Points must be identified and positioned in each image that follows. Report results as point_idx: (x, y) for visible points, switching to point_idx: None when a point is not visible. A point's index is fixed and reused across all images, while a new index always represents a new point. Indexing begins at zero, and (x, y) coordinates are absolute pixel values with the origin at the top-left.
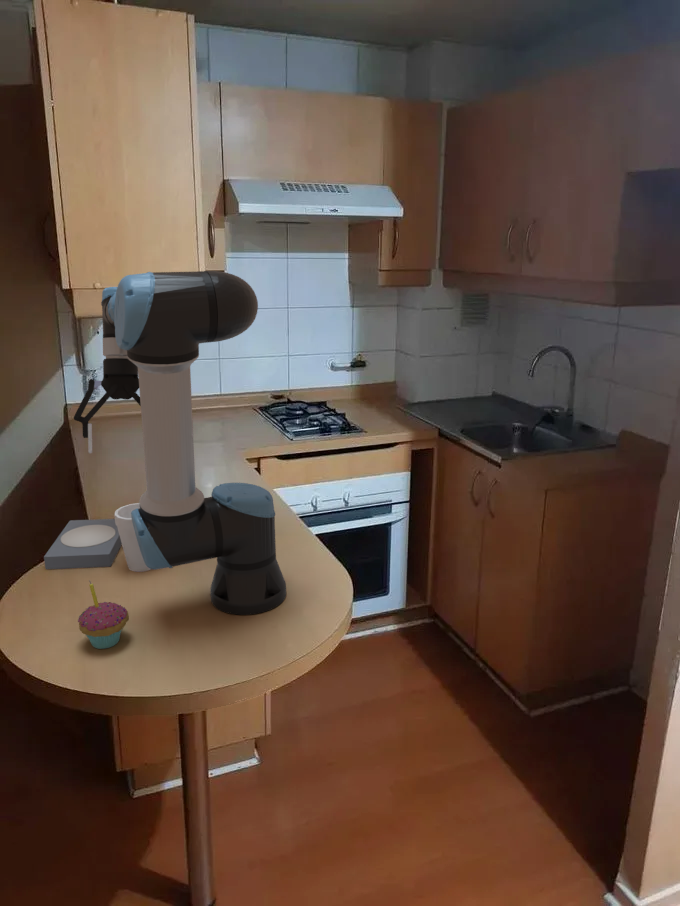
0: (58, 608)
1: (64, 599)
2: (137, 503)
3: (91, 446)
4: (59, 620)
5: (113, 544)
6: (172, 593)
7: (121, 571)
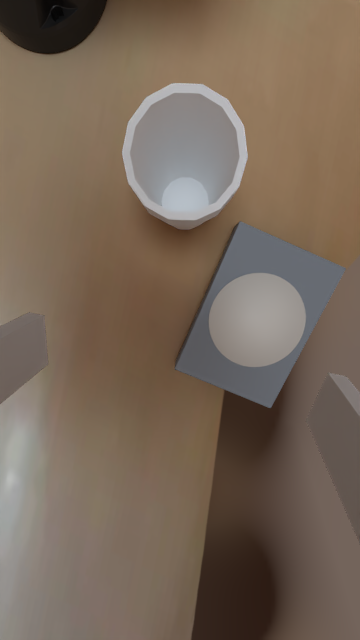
0: (345, 105)
1: (329, 135)
2: (172, 214)
3: (347, 395)
4: (353, 56)
5: (223, 262)
6: (163, 61)
7: None
